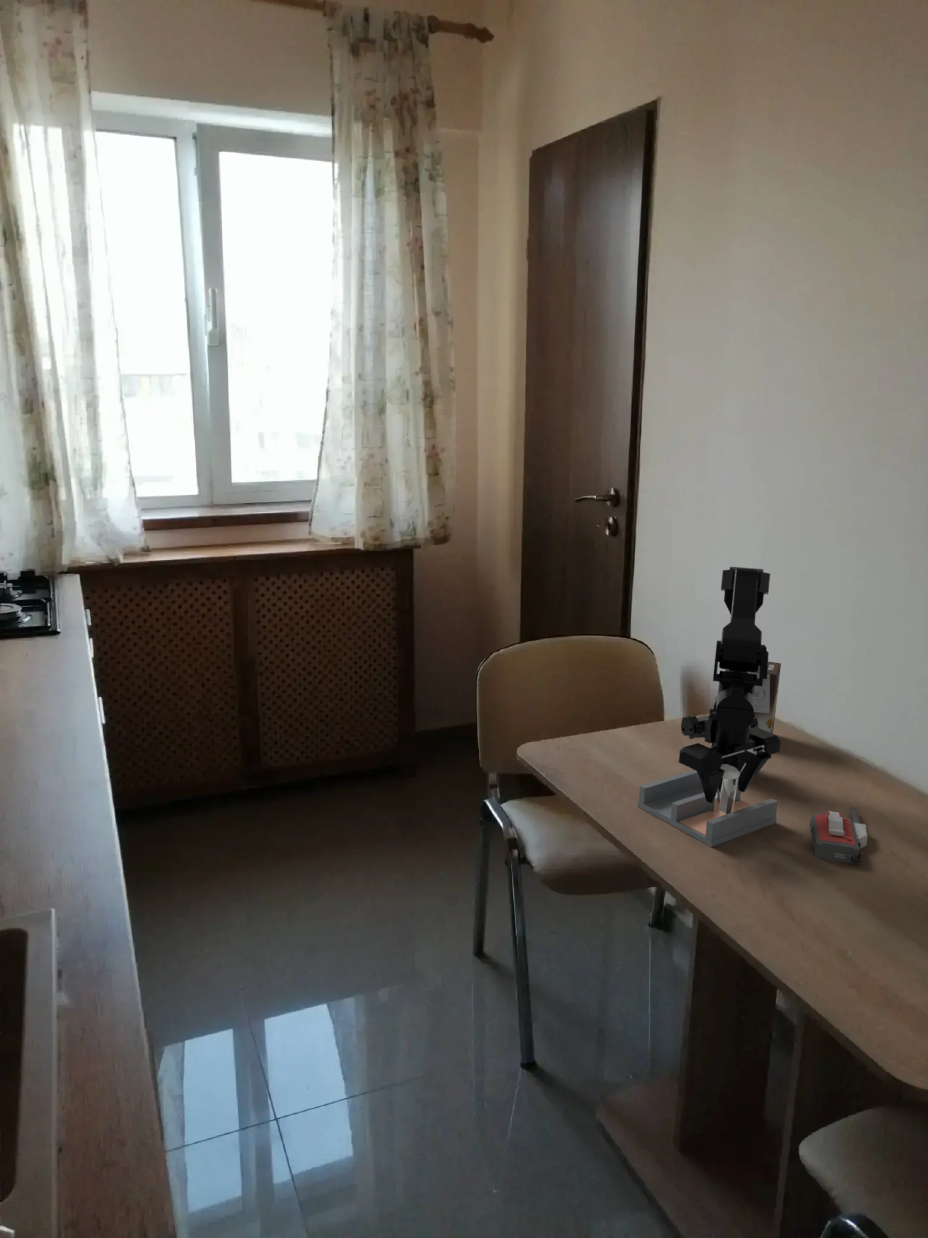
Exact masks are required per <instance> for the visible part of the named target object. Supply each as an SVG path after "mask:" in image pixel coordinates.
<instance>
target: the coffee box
mask: <svg viewBox="0 0 928 1238" xmlns="http://www.w3.org/2000/svg"><path fill="white" fill-rule="evenodd" d="M781 667H782V663H780V662H775V661H773V662H772V661H768V670H767V679H763V684H762V686H755V692H754V714H755V717H756V718H757V721H758V727H757V728H760V729H762V730H765V731H768V732H770V733H773V734H774V729H775V721H776V710H777V702H778V693H779V684H780V676H781ZM759 672H760V666H759V668H758V672H749V674H757V678H759Z"/></svg>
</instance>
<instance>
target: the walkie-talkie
mask: <svg viewBox="0 0 928 1238" xmlns="http://www.w3.org/2000/svg"><path fill="white" fill-rule="evenodd" d="M849 811H850V814H851V817H852V819H850V818H848V817H847V816H842V813H841V812H837V811H831V810H826V812H825V813H819V812H818V813H814V814H811V818H810V820H809V828H810V836H811V841H812V847H813V854H814V855H813V856H814V857H816V858H817V859H819V860H826V861H831V862H832V861H833V862H838V863H844V864H845V863H847V864H851V865H853V864H854V865H855V864H861V863H862V860H863V857H862V853H861V849H862V848H864V847H866V846H867V843H868V836H869V835H868V832H867V825H866V824H864V823H861V822H860V818H859V813H858V810H857V807H855V806H851V807H850V809H849Z"/></svg>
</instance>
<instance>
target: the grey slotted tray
mask: <svg viewBox="0 0 928 1238" xmlns="http://www.w3.org/2000/svg"><path fill="white" fill-rule="evenodd" d="M741 795H742V792H741V791H739V790H738V786H737V790H736V796H735V802H734V807H733V812H732V813H729V814H726V815H723V816H720V817H717V818H714V817H713V816H712V803H709V802H707V801H706V798H705V794H704V791H703V787H702V784H701V780H700V778H699V775H698V773H697V771H696V770H694V769H691V770H688V771H686V772H682V773H679V774H675V775H671V776H669V777H666V778H662V779H659V780H655V781H651V782H647V783H645V784H642V785H639V795H638V801H637V807H638V808H640V809H642V810H643V811H645V812H647V813H649V814H650V815H652V816H654V817H657V818H658V819H660V820H662V821H663V822H665V823H667V824H669V825H670V826H672V827H674V828H676V829H678V830H679V831H681V832H683V833H685V834H687V835H689V836H691V837H692V838H694V839H696V840H698V841H700V842H701V843H704V844H705V845H707V846H709V847H711V848H713V847H715V846H718V845H721V844H723V843H726V842H729V841H731V840H734V839H737V838H740V837H742V836H745V835H747V834H748V835H749V834H750V833H753V832H755V831H759V830H761V829H764V828H766V827H770V826H772V825H774V824H776V823H777V809H778V800H776V799H773V798H769V799H766V800H763V801H760V802H758V803H755V804H752V805H751V804H749V803H747V802H746V801H745V802H744V801H743V800H741Z"/></svg>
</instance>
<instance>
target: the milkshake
mask: <svg viewBox="0 0 928 1238" xmlns="http://www.w3.org/2000/svg"><path fill="white" fill-rule="evenodd" d="M745 765H746V763H745ZM745 765H744V766H743V768H744V767H745ZM743 768H742V770H743ZM720 769H723V770H725V772H724V775H723V777H722V780H721V783H720V785H719V788H718V791H717V794H716V796H715V798H714V801H713V802H712V816H713V817H714V818H717V817H720V816H723V815H726V814H729V813H732V812H733V807H734V802H735V796H736V790H737V786H738V781H739V776H740V773H741V771H742V770H741V771H740V773H739V771H738V770H737V769H736V768H735V767H733V766H730V765H728V764H722V766H721V767H720Z"/></svg>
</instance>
